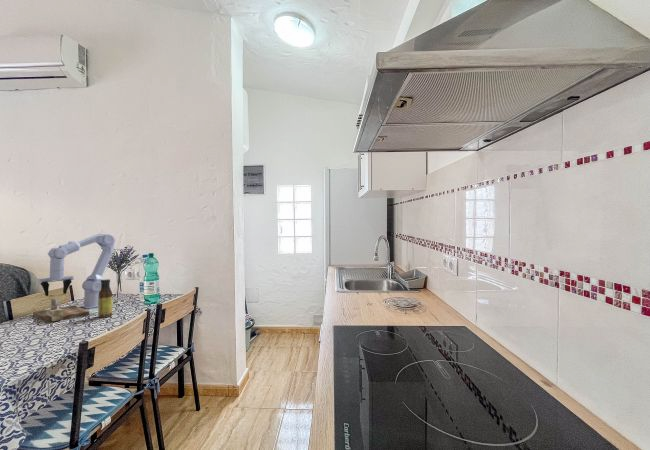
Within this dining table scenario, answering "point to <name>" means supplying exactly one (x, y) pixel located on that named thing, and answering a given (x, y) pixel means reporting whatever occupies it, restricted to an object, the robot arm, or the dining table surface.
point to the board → (67, 313)
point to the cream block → (55, 311)
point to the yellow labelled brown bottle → (105, 299)
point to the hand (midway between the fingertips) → (55, 294)
